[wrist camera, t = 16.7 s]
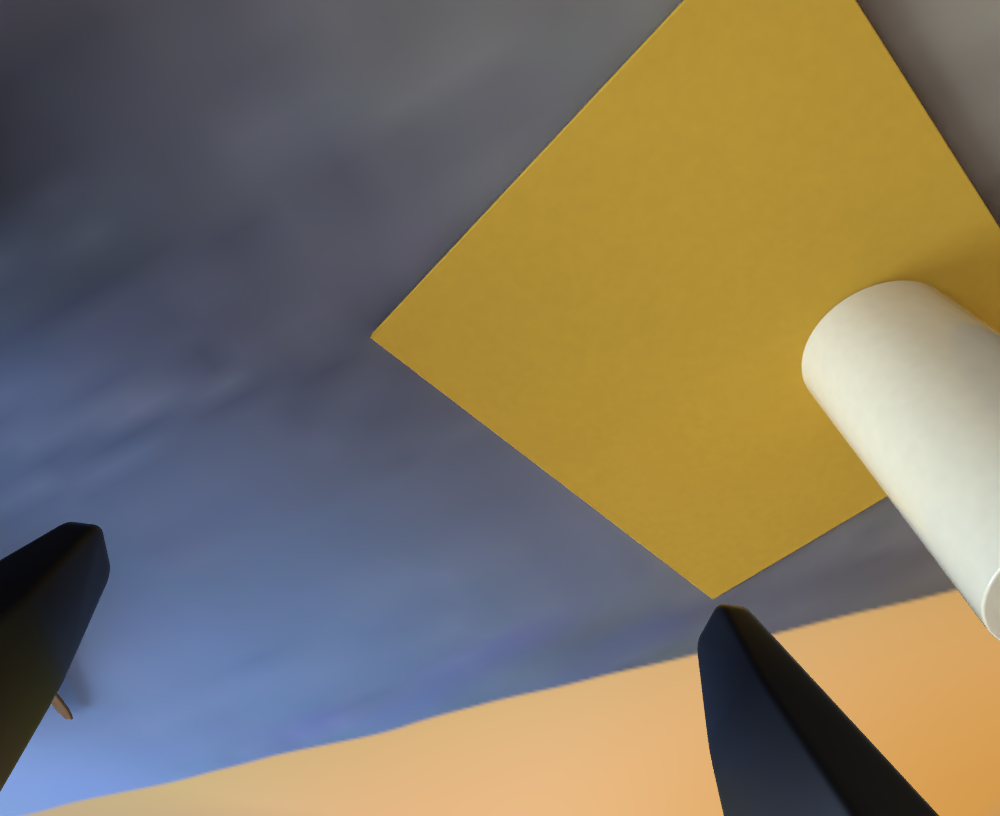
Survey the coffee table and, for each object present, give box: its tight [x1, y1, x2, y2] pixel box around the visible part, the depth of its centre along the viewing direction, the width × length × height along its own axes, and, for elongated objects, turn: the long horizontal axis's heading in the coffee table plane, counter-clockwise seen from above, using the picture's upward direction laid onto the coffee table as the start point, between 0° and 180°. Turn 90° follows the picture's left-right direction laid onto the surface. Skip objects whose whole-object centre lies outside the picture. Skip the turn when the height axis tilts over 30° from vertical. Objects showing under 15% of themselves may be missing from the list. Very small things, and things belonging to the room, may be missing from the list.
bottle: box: [802, 280, 1000, 640], centre depth 17 cm, size 5×5×12 cm
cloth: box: [371, 0, 1000, 599], centre depth 22 cm, size 19×16×1 cm
